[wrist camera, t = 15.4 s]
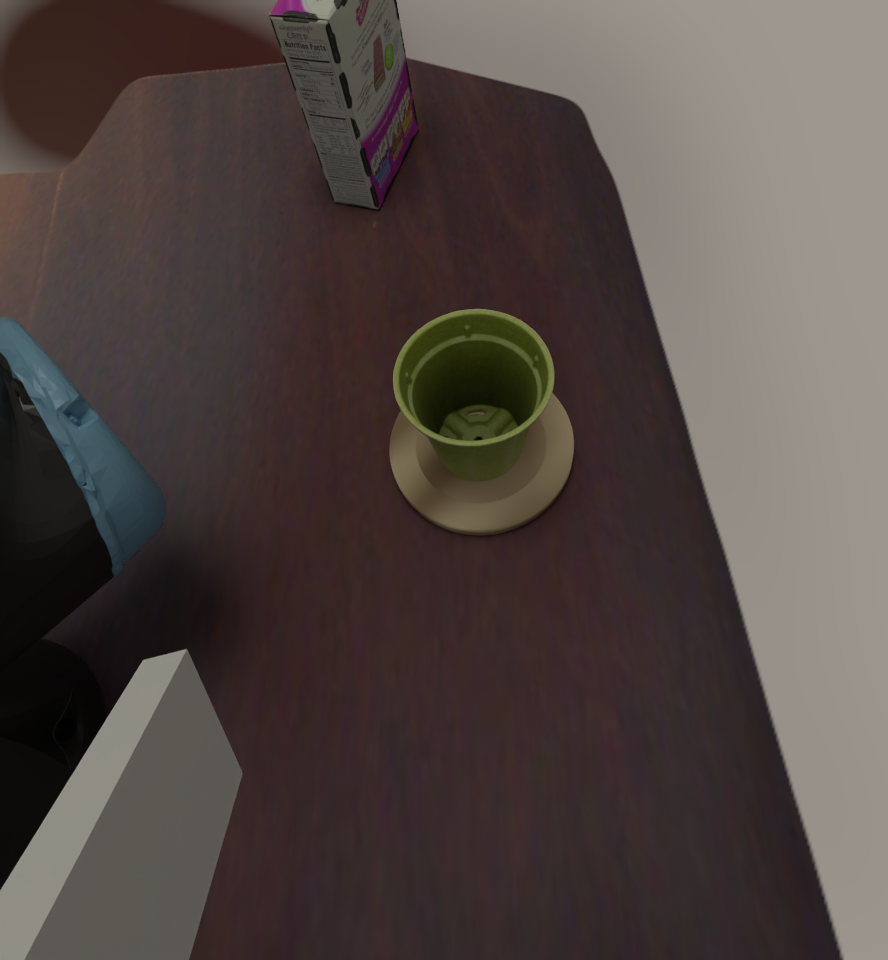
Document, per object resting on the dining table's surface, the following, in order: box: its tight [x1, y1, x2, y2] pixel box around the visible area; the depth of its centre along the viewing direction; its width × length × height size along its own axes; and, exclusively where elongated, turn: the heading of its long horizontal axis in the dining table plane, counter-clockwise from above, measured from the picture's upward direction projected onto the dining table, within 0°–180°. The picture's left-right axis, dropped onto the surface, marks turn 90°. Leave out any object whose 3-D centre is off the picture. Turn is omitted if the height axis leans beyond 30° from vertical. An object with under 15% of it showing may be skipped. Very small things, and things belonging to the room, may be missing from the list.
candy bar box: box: [269, 0, 419, 210], centre depth 52 cm, size 11×5×16 cm, turn 162°
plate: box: [390, 393, 574, 536], centre depth 45 cm, size 13×13×1 cm
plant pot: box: [393, 309, 554, 481], centre depth 41 cm, size 9×9×9 cm
